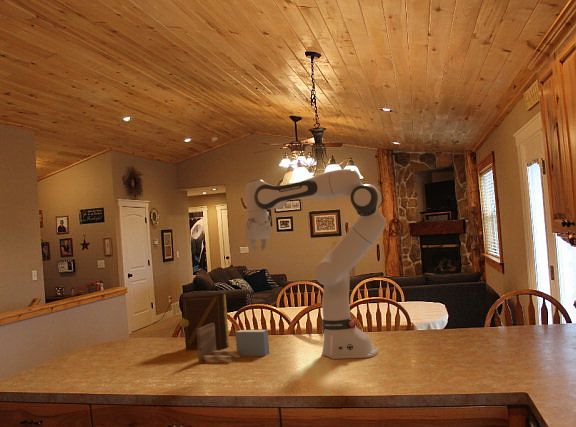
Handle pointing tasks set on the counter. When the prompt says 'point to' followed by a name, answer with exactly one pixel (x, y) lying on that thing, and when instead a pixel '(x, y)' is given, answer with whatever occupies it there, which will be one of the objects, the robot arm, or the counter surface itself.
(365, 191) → the robot arm
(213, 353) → the wooden display stand
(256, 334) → the box book
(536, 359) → the counter surface
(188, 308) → the book
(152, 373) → the counter surface
